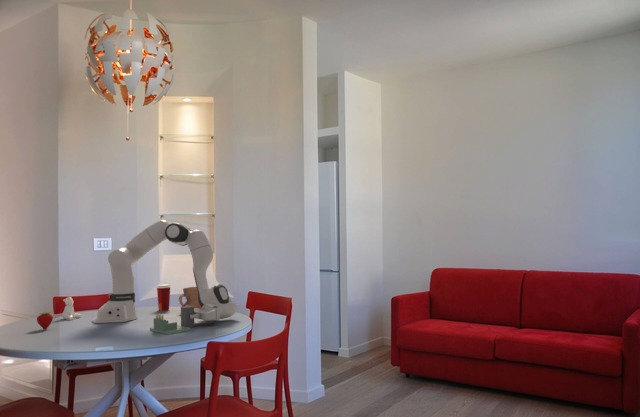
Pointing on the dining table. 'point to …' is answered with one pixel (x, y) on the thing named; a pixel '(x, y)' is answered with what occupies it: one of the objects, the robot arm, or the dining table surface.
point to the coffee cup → (163, 297)
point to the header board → (167, 326)
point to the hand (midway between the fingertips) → (186, 316)
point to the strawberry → (44, 320)
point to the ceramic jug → (190, 297)
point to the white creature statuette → (69, 310)
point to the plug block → (187, 316)
